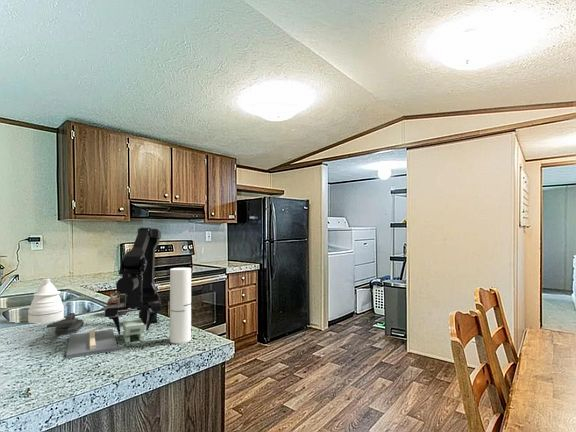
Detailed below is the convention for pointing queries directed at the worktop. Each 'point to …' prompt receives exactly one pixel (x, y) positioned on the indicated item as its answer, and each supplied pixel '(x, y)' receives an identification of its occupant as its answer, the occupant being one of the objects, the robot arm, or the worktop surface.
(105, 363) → the worktop surface
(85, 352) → the cleat board
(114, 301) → the cupcake
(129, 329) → the cabinet block
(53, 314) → the honey pot
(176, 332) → the cylindrical container
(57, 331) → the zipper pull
